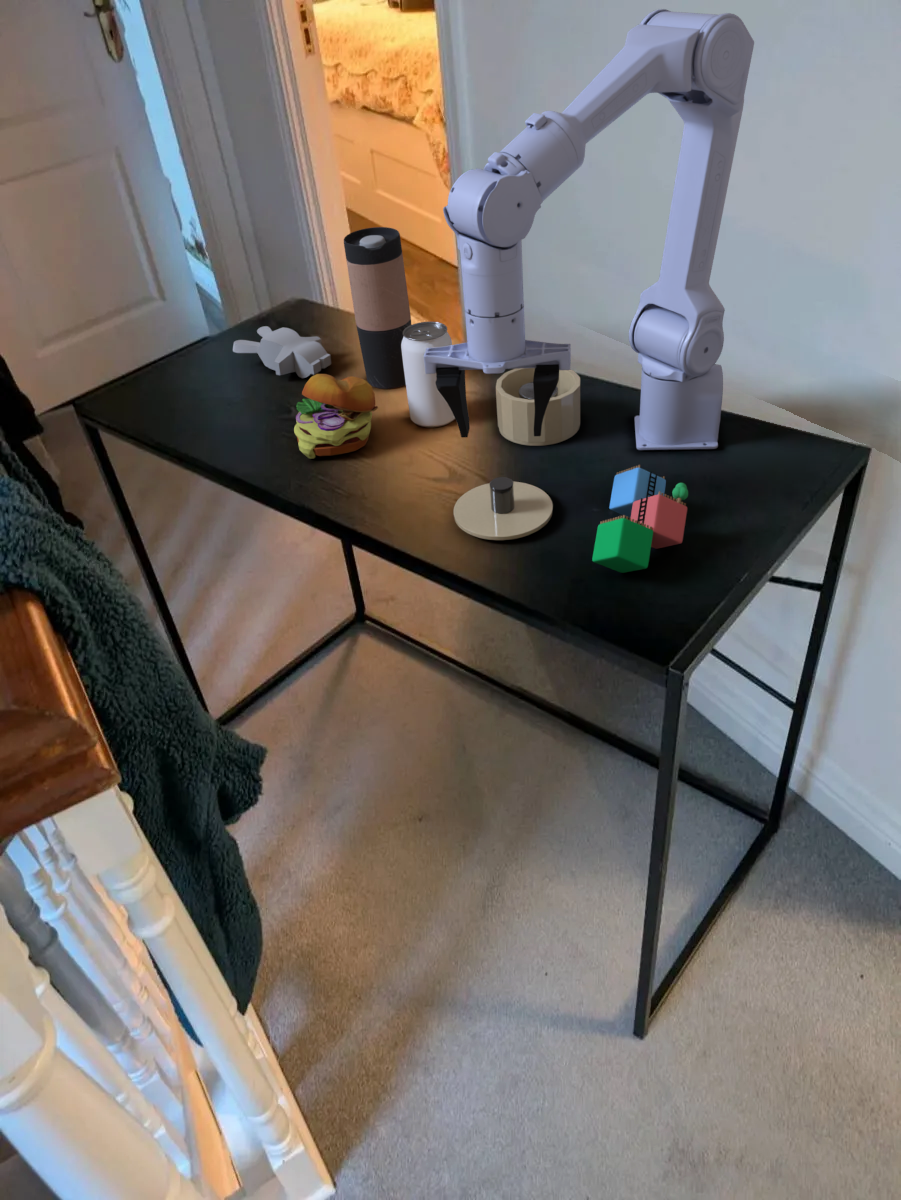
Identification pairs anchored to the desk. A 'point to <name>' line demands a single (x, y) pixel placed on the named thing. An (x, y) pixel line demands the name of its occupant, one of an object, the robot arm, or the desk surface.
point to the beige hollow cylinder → (521, 412)
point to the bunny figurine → (287, 351)
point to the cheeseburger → (334, 415)
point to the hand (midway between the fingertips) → (501, 432)
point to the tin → (531, 391)
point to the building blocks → (639, 520)
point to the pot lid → (503, 510)
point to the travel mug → (379, 302)
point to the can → (424, 374)
